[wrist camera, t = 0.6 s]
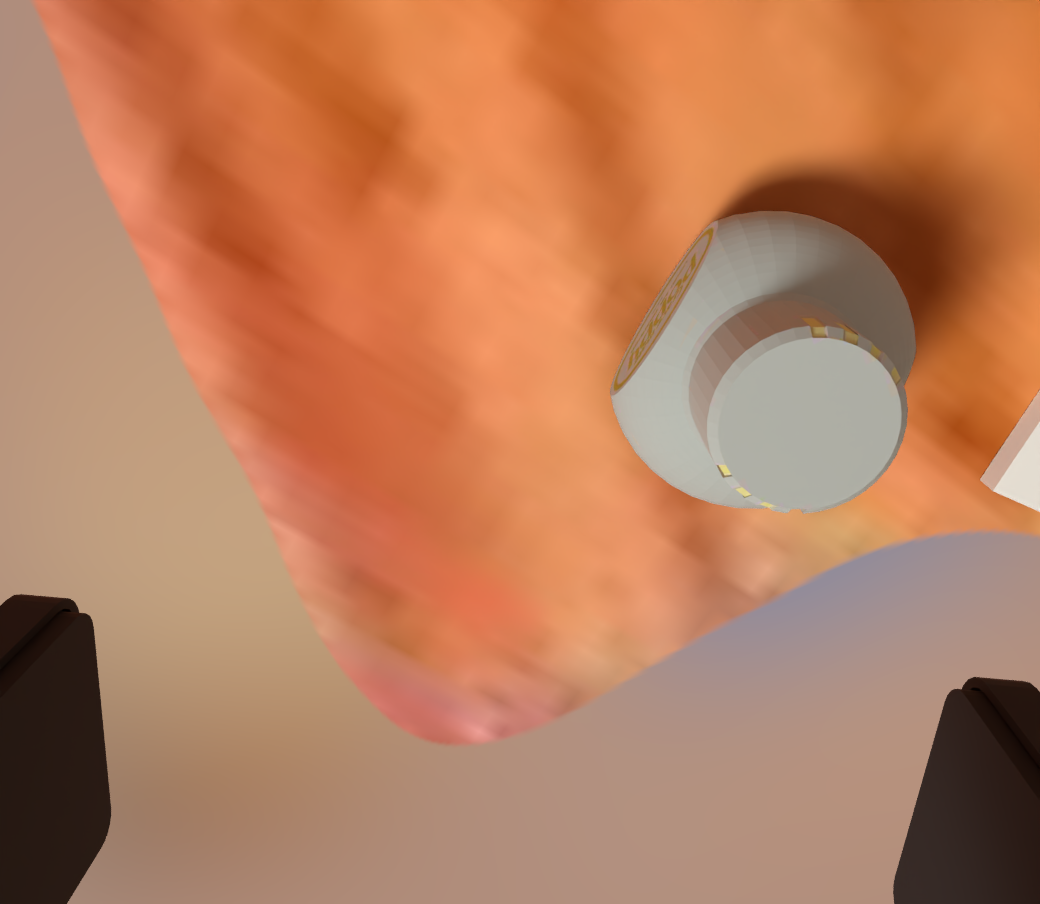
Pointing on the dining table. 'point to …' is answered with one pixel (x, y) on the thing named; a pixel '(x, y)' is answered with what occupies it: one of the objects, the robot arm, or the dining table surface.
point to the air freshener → (770, 366)
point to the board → (1019, 461)
